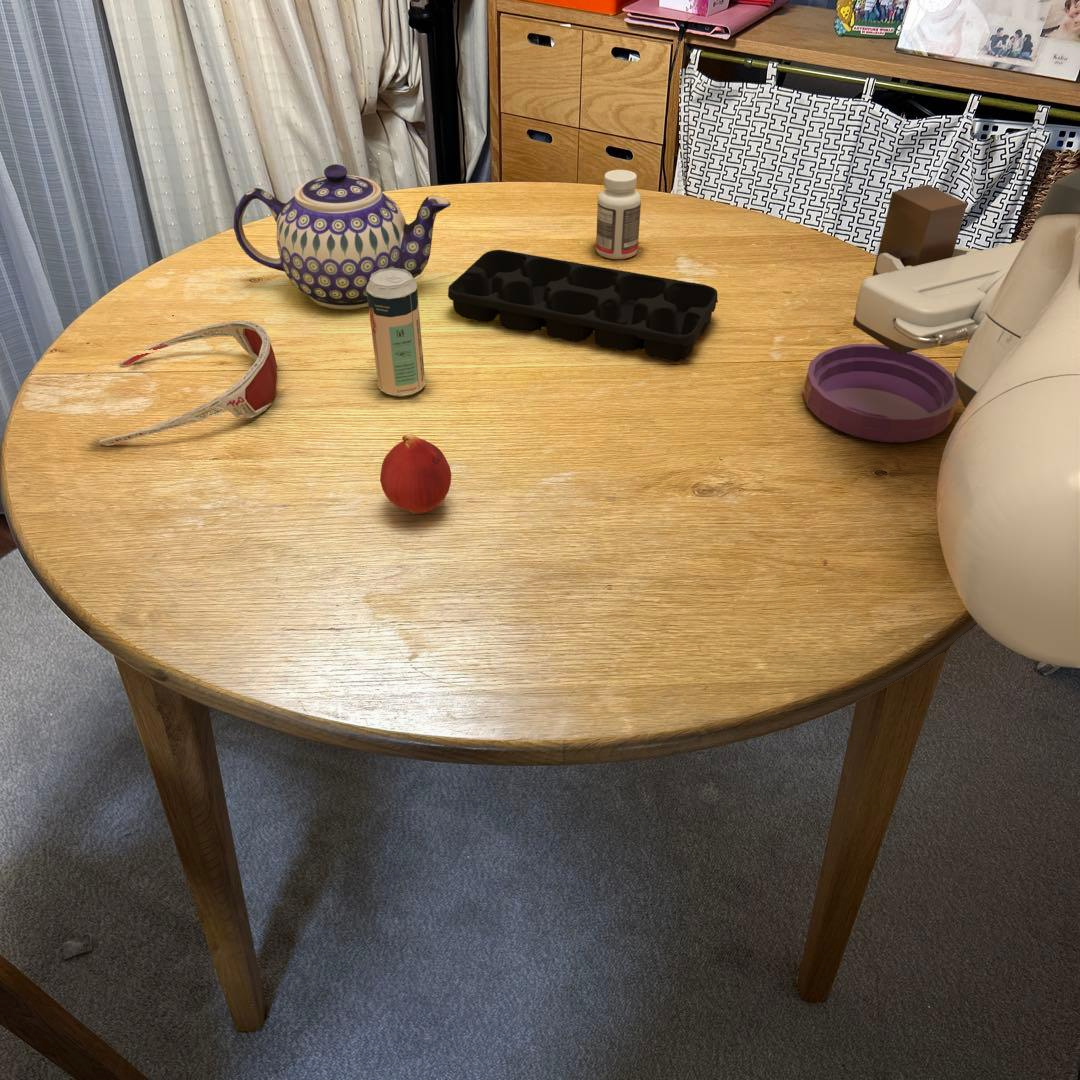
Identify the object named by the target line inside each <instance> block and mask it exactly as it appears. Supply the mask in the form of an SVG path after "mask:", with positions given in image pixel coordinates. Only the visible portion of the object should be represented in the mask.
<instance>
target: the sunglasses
mask: <svg viewBox="0 0 1080 1080" xmlns="http://www.w3.org/2000/svg"><path fill="white" fill-rule="evenodd" d="M219 337H220V338H223V337H226V338H227V337H232V338H233V339H235V340H236V341H237V343H238V344H239V346H240V347H241V348H242V349H243V350H244V351H245V352H246V353H247V354H248V355H249V356H250V357H251V358H252V359H253V360H254V361H255V362H253V364H252V365H251V366H250V367H249V369H247V371H246V372H245V374H244V375H243V376H242V377H241V378H240V379H239V380H238V381H236V382H235V383H234V384H233V385H232V386H230V388H227V390H225V391H224V392H223V393H222V394H220V395H218V396H216V397H215V398H213V399H212V400H210V401H208V402H207V403H204V404H202V405H200V406H198V407H195V408H193V409H192V410H189V411H186V412H184V413H183V414H180V415H178V416H176V417H172V418H169V419H167V420H164V421H162V422H159V423H156V424H154V425H151V426H148V427H145V428H141V429H137V430H135V431H130V432H127V433H122V434H119V435H114V436H110V437H107V438H106V437H105V438H101V439H100V440H99V441H98V443H99V445H103V446H107V447H109V446H114V445H118V444H121V443H125V442H128V441H129V442H130V441H132V440H135V439H138V438H142V437H145V436H150V435H154V434H157V433H162V432H165V431H170V430H173V429H176V428H180V427H185V426H189V425H191V424H192V425H193V424H195V423H199V422H202V421H204V420H206V419H209V418H212V417H215V416H217V415H220V414H222V413H225V412H229V413H230V414H231V415H233V416H234V418H237V419H238V418H241V417H243V418H245V419H252V418H254V417H256V416H258V415H260V414H261V413H264V411H266V410H267V409H268V408H269V407H270V406H272V404H273V403H272V402H273V401H274V400H275V397H276V393H277V383H278V382H277V381H278V370H277V369H278V364H277V360H276V354H275V351H274V349H273V346H272V343H271V339H270V336H269V334H268V332H267V330H266V329H264V327H262V326H261V325H260V324H257V323H256V322H254V321H249V320H233V321H223V322H219V323H215V324H211V325H207V326H203V327H200V328H197V329H194V330H191V331H186V332H185V333H182V334H180V335H176V336H173V337H170V338H168V339H165V340H163V341H160V342H158V343H155V344H152V345H151V346H148V347H145V348H142V350H143V351H145V350H151V349H153V350H157V349H160V350H162V349H165V348H168V347H171V346H174V345H178V344H181V343H186V342H187V343H188V342H192V341H198V340H203V339H210V338H219ZM157 351H158V350H157ZM153 353H154V352H152V353H145V354H141V355H136V356H133V355H134V354H132V355H129V356H128V357H127V358H125V359H123V360H121V361H119V362H118V364H117V365H118V366H119V367H124V368H126V367H129V366H132V365H133V364H134V363H136V362H138V361H140V360H141V359H143V358H146V357H147V356H149V355H151V354H153Z"/></svg>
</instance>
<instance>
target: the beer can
mask: <svg viewBox="0 0 1080 1080" xmlns="http://www.w3.org/2000/svg"><path fill="white" fill-rule="evenodd" d="M366 290H367V298H368V313H369V322H370V330H371V337H372V346H373V354H374V361H375V362H374V363H375V369H376V377H377V378H376V380H377V386H378V389H380V391H381V392H382V393H384V394H387V395H389V396H392V397H398V398H399V397H400V398H401V397H409V396H412V395H414V394H416V393H418V392H420V391H422V389H423V388H424V387H425V386H426V376H425V364H424V351H423V341H422V329H421V328H422V327H421V319H420V305H419V295H418V283H417V281H416V280H415V278H413V277H412V275H411V273H409V272H408V271H406V270H405V269H398V268H388V269H380V270H378V271H376V272H374V273H373V274H371V277H370V281H369V283H368V284H367V287H366Z"/></svg>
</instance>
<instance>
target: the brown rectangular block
mask: <svg viewBox="0 0 1080 1080" xmlns="http://www.w3.org/2000/svg"><path fill="white" fill-rule="evenodd" d="M967 207H968V203H967V202H965V201H964V200H961V199H959V198H957V197H955V196H953V195H951V194H948V193H947V192H944V191H942V190H940V189H938V188H936V187H934V186H931V185H929V184H925V185H920V186H915V187H910V188H905V189H904V188H903V189H900V190H894V191H892V192H891V195H890V200H889V204H888V208H887V212H886V216H885V221H884V225H883V229H882V234H881V238H880V242H879V246H878V250H877V253H876V254H877V255H876V259H875V263H874V267H873V271H872V275H871V276H875V275H879V273H877V271H876V264H877V260H878V256H879V255H880V254H882V253H887V252H892V251H895V252H897V253H898V254H901V255H903V256H904V257H905V261H904V265H903V266H904V267H906V266H912V267H913V266H917V265H922V264H926V263H930V262H934V261H939V260H943V259H947V258H951V257H952V255H953V252H954V248H955V246H957V241H958V237H959V234H960V231H961V227H962V224H963V220H964V217H965V213H966V210H967ZM852 325H853V326H854V327H856V328H857V329H859V330H860V331H862V332H863V333H865V334H866V335H868V336H870V337H871V338H873V339H874V340H876V341H877V342H879V343H880V344H881V345H885V346H886V347H888V348H889V349H891V350H892V351H894V352H895V353H897V354H899V355H900V354H904V353H907V352H911V351H912V352H915V351H917V350H919V349H915V348H911V347H907V346H904V345H902V344H899V343H897V342H895V341H893V340H891V339H889V338H887V337H885V336H883V335H881V334H879V333H877V332H875V331H873V330H871V329H869V328H868V327H866V326H864V325H862V324H861V323H859V322H858V321H857V319H856V314H855V313H854V318H853V321H852Z"/></svg>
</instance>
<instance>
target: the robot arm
mask: <svg viewBox="0 0 1080 1080" xmlns="http://www.w3.org/2000/svg"><path fill="white" fill-rule="evenodd" d="M904 261H905V257H904V256H903V255H901V254H898V253H897V252H895V251H892V252H887V253H882V254H880V255H879V256H878V260H877V264H876V271H877V273H879V275H875V276H872V275H869V276H867V277H865V278H864V279H863V280H862V282H861V284H860V287H859V292H858V295H857V297H856V303H855V310H854V311H855V312H854V315H855V314H856V319H857V321H858V322H859V323H861V324H862V325H864V326H866V327H868V328H869V329H871V330H873V331H875V332H877V333H879V334H881V335H883V336H885V337H887V338H889V339H891V340H893V341H895V342H897V343H899V344H902V345H904V346H907V347H911V348H915V349H918V350H928V349H929V350H930V349H934V348H938V347H947V346H950V345H952V344H953V343H956V342H963V341H967V345H966V348H965V349H964V351H963V353H962V355H961V357H960V359H959V362H958V364H957V367H956V370H955V371H954V373H953V377H954V378H955V384H956V388H957V391H958V394H959V400H960V401H961V403H962V405H963V407H964V408H965V409H964V410H963V411H962V413H961V415H960V416H959V419H958V420H957V422H956V423H955V425H954V426H953V429H952V431H951V433H950V435H949V437H948V439H947V442H946V444H945V446H944V449H943V452H942V456H941V460H940V464H939V470H938V479H937V487H936V488H937V489H936V521H937V529H938V535H939V536H938V537H939V541H940V547H941V551H942V554H943V558H944V561H945V565H946V568H947V571H948V574H949V576H950V578H951V581H952V584H953V585H954V588H955V591H956V592H957V595H958V597H959V599H960V601H961V602H962V604H963V606H964V608H965V609H966V611H967V612H968V613H969V615H970V617H972V619H973V620H974V622H975V623H976V624H977V625H978V626H979V627H980V628H981V629H983V631H984V632H985V633H986V634H987V635H988V636H989V637H991V638H992V639H993V640H995V641H996V642H998V643H999V644H1000V645H1002V646H1004V647H1006V648H1007V649H1008V650H1011V651H1013V652H1014V653H1016V654H1019V655H1022V656H1024V657H1026V658H1027V659H1030V660H1032V661H1037V662H1040V663H1043V664H1045V665H1052V666H1057V667H1061V668H1072V669H1073V668H1074V669H1080V168H1079V169H1077V170H1074V171H1072V172H1070V173H1068V174H1067V175H1065V176H1063V177H1060V178H1059V179H1057V180H1055V181H1054V182H1052V183H1051V184H1050V187H1049V190H1048V191H1047V193H1046V196H1045V198H1044V199H1043V202H1042V204H1041V206H1040V208H1039V210H1038V212H1037V214H1036V216H1035V218H1034V224H1033V226H1032V228H1031V229H1030V231H1029V233H1028V234H1027V237H1026V238H1025V239H1024V240H1020V241H1016V242H1012V243H1008V244H1004V245H999V246H995V247H990V248H986V249H982V250H980V249H979V250H978V249H975V248H969V247H963V246H957V245H955V248H954V252H953V255H952V257H951V258H947V259H943V260H939V261H934V262H930V263H926V264H922V265H917V266H913V267H912V266H906V267H904V266H903V265H904Z"/></svg>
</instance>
